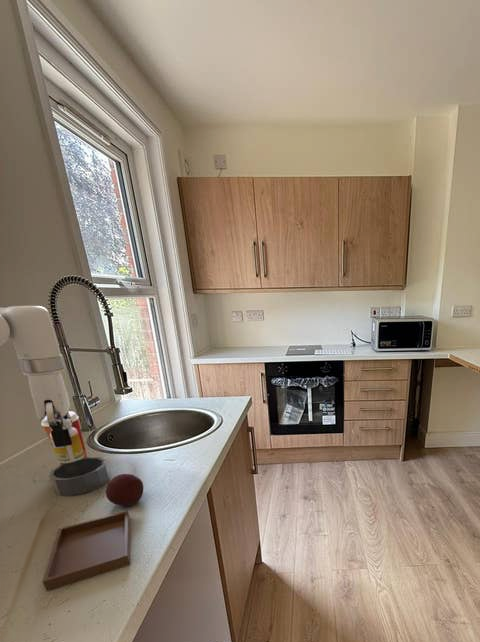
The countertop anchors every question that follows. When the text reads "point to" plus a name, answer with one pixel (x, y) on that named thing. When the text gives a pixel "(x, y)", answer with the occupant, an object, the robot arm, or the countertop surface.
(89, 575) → the tray
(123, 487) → the dark red plum
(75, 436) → the supplement bottle
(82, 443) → the coffee cup
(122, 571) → the countertop surface
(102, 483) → the grey round bowl
